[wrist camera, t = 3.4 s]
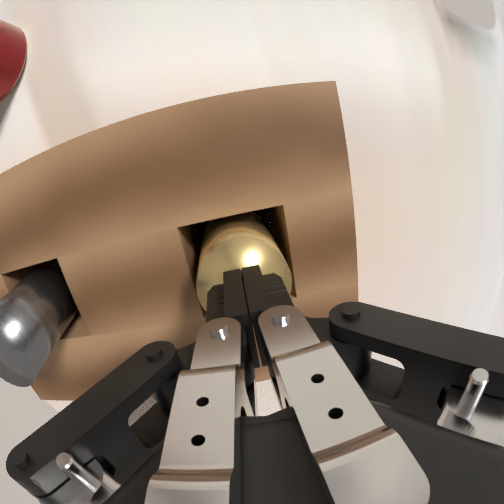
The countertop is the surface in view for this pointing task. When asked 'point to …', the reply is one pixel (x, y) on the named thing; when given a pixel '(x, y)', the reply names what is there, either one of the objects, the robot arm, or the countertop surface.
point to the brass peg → (237, 251)
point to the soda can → (11, 56)
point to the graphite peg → (33, 323)
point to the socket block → (178, 218)
